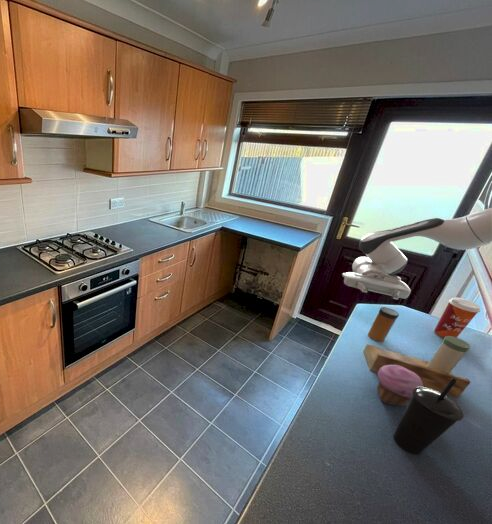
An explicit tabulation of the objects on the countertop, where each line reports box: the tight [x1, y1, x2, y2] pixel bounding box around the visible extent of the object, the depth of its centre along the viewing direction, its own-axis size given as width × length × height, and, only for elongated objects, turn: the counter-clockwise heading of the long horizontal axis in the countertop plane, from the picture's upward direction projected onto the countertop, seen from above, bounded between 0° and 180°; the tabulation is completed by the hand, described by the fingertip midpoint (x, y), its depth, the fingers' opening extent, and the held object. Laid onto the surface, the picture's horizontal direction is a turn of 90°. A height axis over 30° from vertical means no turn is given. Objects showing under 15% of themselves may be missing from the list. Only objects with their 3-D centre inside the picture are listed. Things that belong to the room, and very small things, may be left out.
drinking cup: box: [392, 378, 465, 455], centre depth 59 cm, size 8×8×20 cm
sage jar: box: [426, 336, 471, 374], centre depth 78 cm, size 5×5×11 cm
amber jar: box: [367, 306, 400, 343], centre depth 95 cm, size 5×5×11 cm
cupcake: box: [376, 365, 424, 407], centre depth 72 cm, size 9×9×10 cm
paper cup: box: [433, 296, 481, 339], centre depth 98 cm, size 8×8×14 cm
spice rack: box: [362, 344, 471, 399], centre depth 82 cm, size 20×9×6 cm, turn 65°
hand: (380, 294), depth 102 cm, fingers open, 8 cm apart
